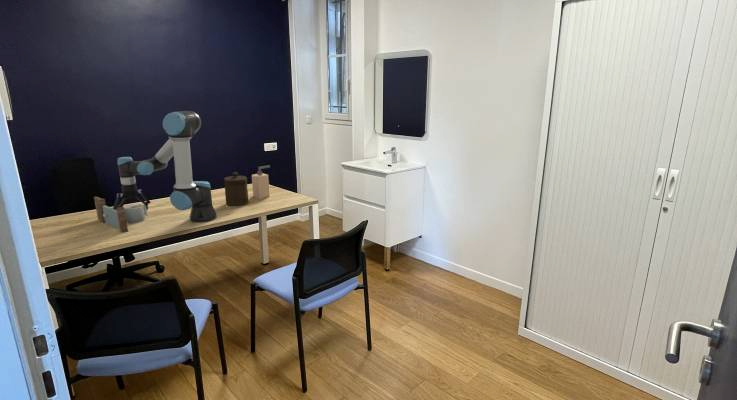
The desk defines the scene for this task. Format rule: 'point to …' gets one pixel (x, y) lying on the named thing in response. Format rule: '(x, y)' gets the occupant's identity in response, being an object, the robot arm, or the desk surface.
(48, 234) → the desk surface
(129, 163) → the robot arm
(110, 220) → the door
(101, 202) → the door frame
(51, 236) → the desk surface
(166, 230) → the desk surface
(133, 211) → the toilet tissue
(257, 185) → the soap dispenser
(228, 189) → the wooden container
